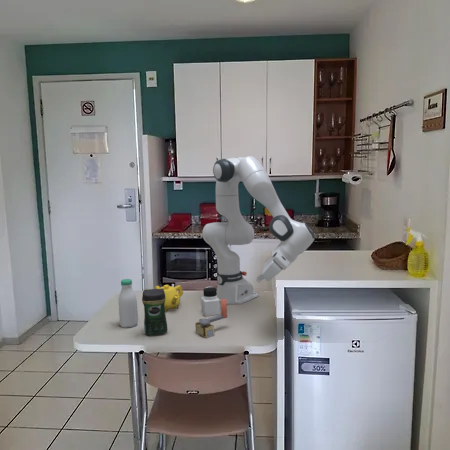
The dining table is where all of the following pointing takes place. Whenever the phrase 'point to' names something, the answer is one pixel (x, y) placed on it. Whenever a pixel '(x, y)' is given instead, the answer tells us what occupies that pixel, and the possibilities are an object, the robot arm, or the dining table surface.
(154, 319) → the coffee jar
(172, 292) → the teapot
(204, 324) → the lever
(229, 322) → the dining table surface
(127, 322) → the milk bottle
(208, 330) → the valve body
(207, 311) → the medicine bottle
